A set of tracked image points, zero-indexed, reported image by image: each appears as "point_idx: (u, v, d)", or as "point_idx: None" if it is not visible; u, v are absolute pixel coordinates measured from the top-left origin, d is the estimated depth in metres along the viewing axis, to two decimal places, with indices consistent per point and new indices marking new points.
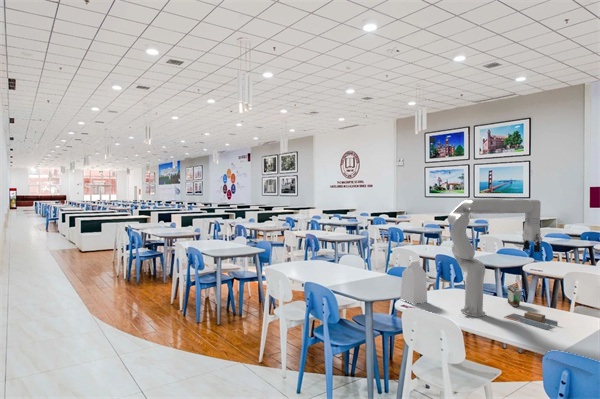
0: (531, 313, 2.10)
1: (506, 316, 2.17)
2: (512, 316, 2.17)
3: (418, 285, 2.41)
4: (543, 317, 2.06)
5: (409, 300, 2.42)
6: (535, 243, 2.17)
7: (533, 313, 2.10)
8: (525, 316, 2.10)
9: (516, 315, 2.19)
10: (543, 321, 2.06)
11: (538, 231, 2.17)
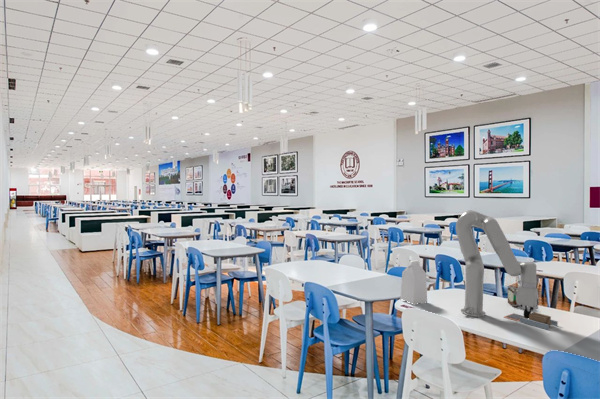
0: (536, 314, 2.08)
1: (506, 316, 2.17)
2: (512, 316, 2.17)
3: (418, 285, 2.41)
4: (548, 318, 2.04)
5: (409, 300, 2.42)
6: (528, 309, 2.11)
7: (538, 314, 2.08)
8: (530, 317, 2.09)
9: (516, 315, 2.19)
10: (548, 322, 2.04)
11: (537, 296, 2.08)
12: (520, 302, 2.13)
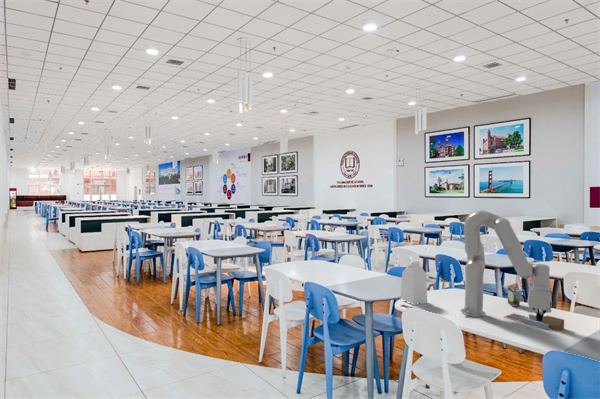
0: (549, 317, 2.03)
1: (506, 316, 2.17)
2: (512, 316, 2.17)
3: (418, 285, 2.41)
4: (562, 321, 2.00)
5: (409, 300, 2.42)
6: (541, 313, 2.05)
7: (551, 317, 2.03)
8: (543, 320, 2.03)
9: (516, 315, 2.19)
10: (562, 326, 2.00)
11: (550, 299, 2.03)
12: (532, 305, 2.07)
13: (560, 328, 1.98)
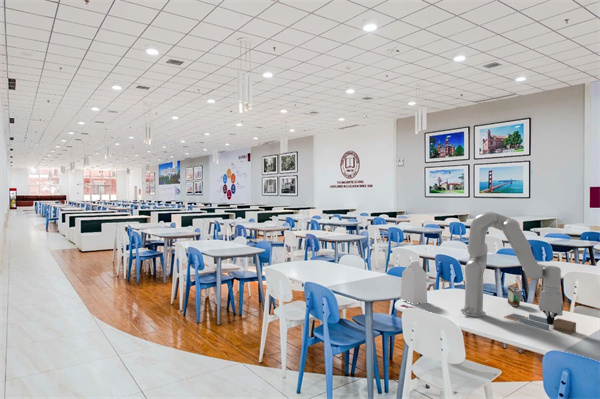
0: (561, 320, 1.99)
1: (506, 316, 2.17)
2: (512, 316, 2.17)
3: (418, 285, 2.41)
4: (574, 325, 1.95)
5: (409, 300, 2.42)
6: (552, 315, 2.01)
7: (563, 320, 1.99)
8: (554, 323, 1.99)
9: (516, 315, 2.19)
10: (574, 329, 1.95)
11: (562, 302, 1.99)
12: (543, 308, 2.03)
13: (572, 331, 1.94)
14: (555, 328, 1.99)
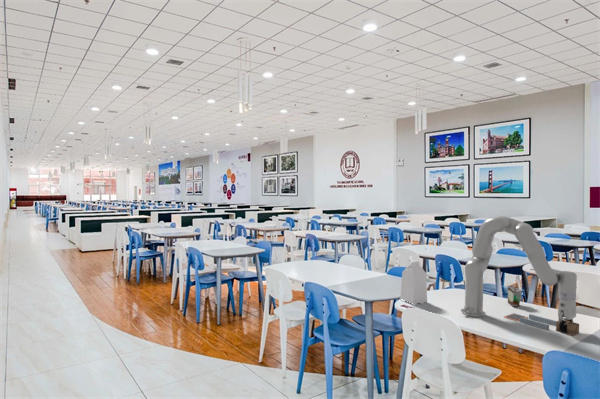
0: (564, 321, 1.97)
1: (506, 316, 2.17)
2: (512, 316, 2.17)
3: (418, 285, 2.41)
4: (577, 326, 1.93)
5: (409, 300, 2.42)
6: (572, 320, 1.98)
7: None
8: (557, 325, 1.97)
9: (516, 315, 2.19)
10: (577, 330, 1.94)
11: None
12: (570, 317, 1.93)
13: (575, 333, 1.92)
14: (558, 329, 1.97)
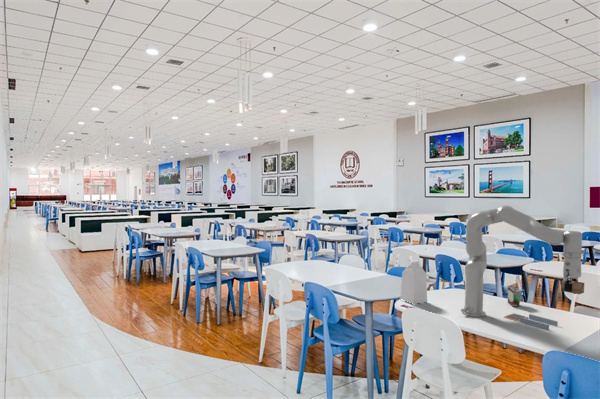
0: None
1: (506, 316, 2.17)
2: (512, 316, 2.17)
3: (418, 285, 2.41)
4: (582, 285, 1.93)
5: (409, 300, 2.42)
6: (577, 280, 1.98)
7: None
8: (562, 284, 1.97)
9: (516, 315, 2.19)
10: (582, 289, 1.93)
11: None
12: (575, 276, 1.93)
13: (580, 291, 1.92)
14: (563, 289, 1.97)
